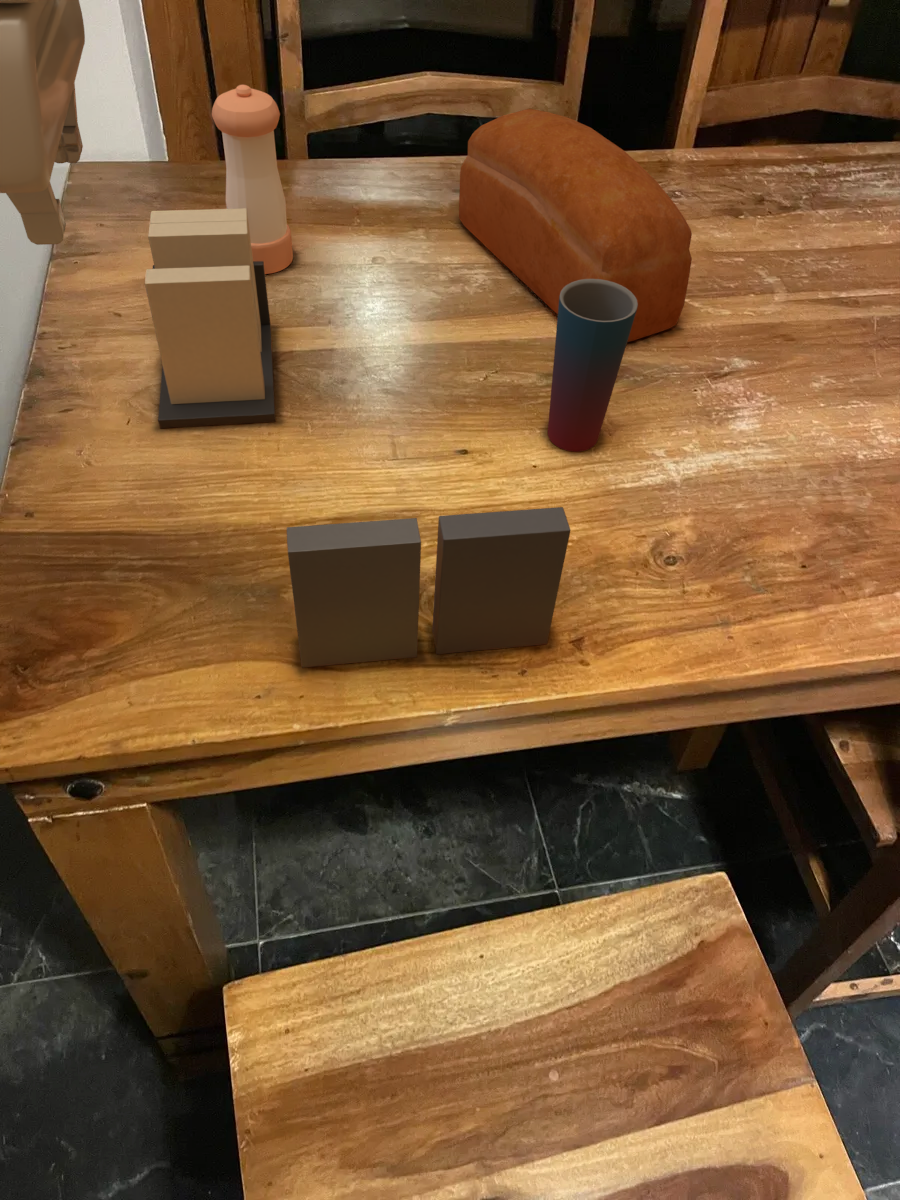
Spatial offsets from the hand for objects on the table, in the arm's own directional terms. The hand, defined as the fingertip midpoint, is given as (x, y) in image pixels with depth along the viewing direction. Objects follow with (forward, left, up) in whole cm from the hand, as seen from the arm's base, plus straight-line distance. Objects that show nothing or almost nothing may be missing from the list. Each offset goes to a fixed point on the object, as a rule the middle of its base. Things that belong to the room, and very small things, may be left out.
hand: (59, 195), depth 53 cm
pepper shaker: (-24, +45, -33) cm, 61 cm away
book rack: (-13, +24, -32) cm, 43 cm away
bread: (+7, +63, -33) cm, 72 cm away
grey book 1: (+18, +2, -32) cm, 37 cm away
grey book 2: (+26, +8, -32) cm, 43 cm away
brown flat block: (-11, +21, -32) cm, 39 cm away
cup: (+21, +35, -33) cm, 53 cm away
